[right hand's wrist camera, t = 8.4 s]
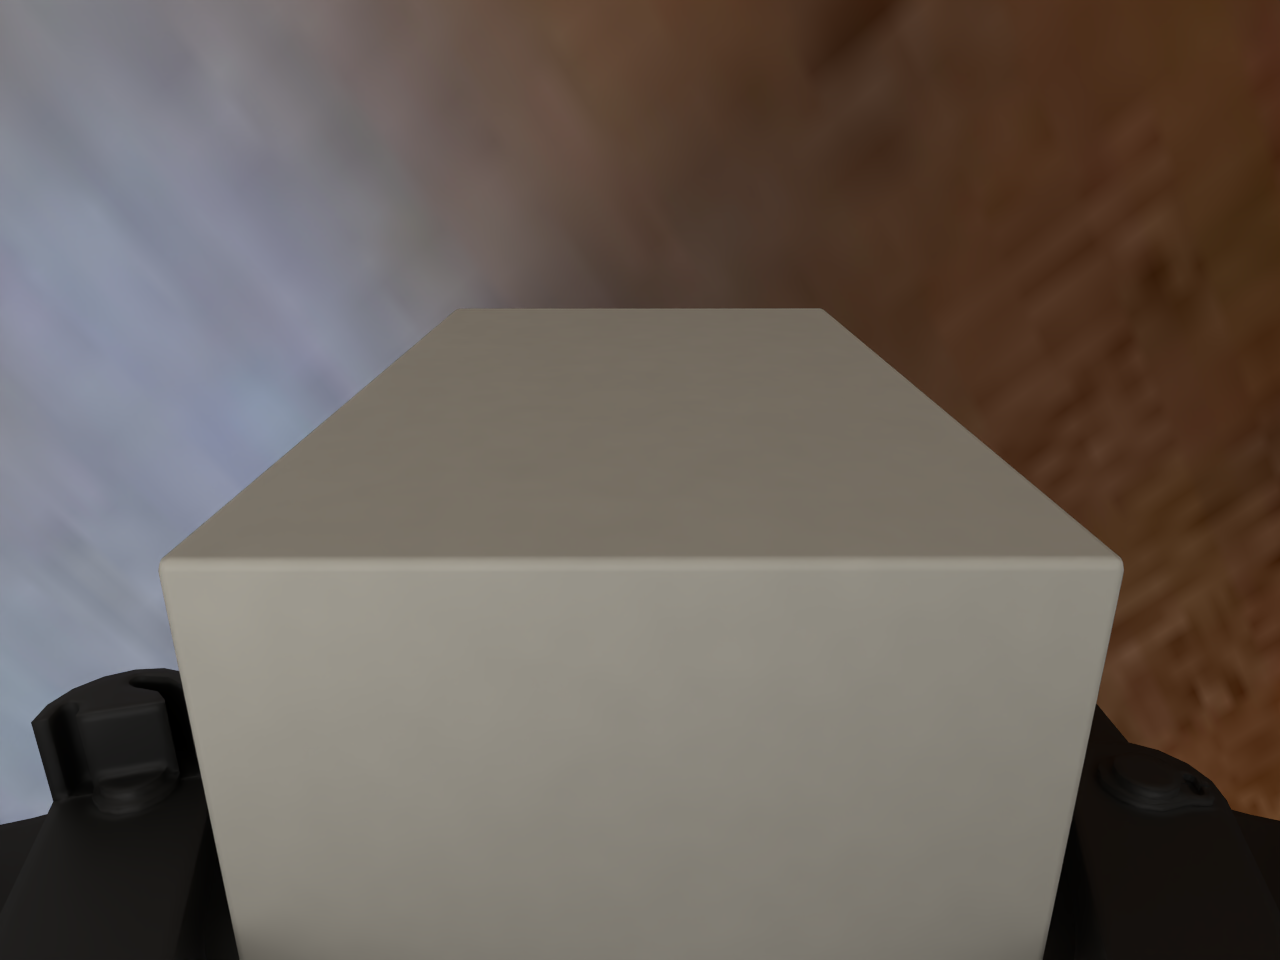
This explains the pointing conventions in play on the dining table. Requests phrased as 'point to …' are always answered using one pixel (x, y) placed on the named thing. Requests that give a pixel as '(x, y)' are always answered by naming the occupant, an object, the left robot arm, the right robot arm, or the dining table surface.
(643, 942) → the bar
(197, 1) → the dining table surface
